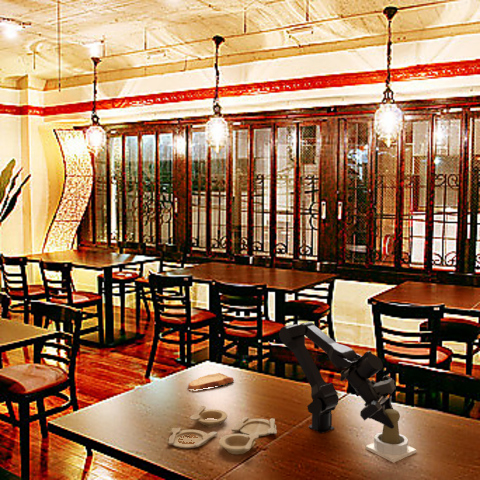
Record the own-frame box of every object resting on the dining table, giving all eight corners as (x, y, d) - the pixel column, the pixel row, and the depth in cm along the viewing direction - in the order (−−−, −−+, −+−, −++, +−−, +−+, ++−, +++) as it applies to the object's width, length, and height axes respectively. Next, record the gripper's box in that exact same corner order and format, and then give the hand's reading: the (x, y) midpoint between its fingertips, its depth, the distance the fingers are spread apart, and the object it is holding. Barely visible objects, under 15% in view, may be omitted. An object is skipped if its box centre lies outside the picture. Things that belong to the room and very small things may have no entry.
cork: (401, 449, 173) (402, 415, 172) (381, 447, 175) (381, 413, 173) (399, 440, 179) (400, 407, 178) (380, 438, 180) (381, 405, 179)
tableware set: (285, 425, 197) (285, 414, 197) (260, 463, 170) (260, 451, 169) (193, 412, 208) (193, 402, 208) (157, 447, 181) (157, 434, 181)
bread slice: (185, 392, 230) (185, 383, 229) (195, 377, 248) (195, 369, 247) (228, 394, 227) (228, 385, 227) (235, 379, 245) (235, 371, 245)
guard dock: (393, 462, 169) (393, 449, 169) (365, 448, 178) (365, 436, 178) (416, 452, 176) (416, 440, 175) (388, 439, 184) (388, 428, 184)
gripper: (371, 378, 168) (407, 421, 164) (387, 361, 185) (420, 400, 180) (345, 399, 173) (380, 441, 169) (363, 380, 189) (395, 419, 185)
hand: (395, 424), depth 175 cm, fingers closed on cork, 5 cm apart
